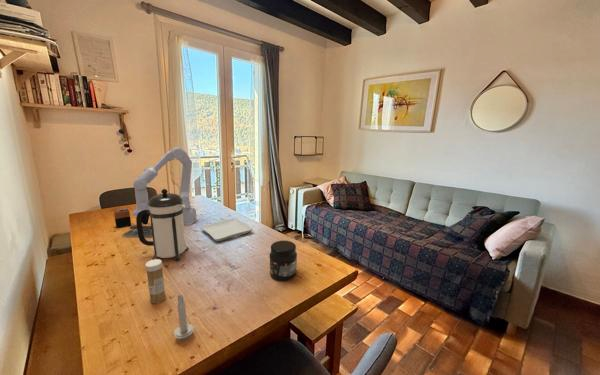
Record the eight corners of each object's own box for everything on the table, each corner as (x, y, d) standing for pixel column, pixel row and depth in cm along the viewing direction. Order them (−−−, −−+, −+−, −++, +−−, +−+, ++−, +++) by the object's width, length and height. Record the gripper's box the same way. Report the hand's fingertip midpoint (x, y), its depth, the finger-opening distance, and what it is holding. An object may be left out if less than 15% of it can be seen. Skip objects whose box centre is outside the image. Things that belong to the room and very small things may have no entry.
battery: (131, 225, 141) (129, 209, 139) (116, 228, 137) (114, 211, 135) (130, 223, 144) (128, 207, 142) (115, 226, 140) (113, 209, 138)
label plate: (165, 228, 139) (165, 225, 139) (150, 237, 126) (150, 235, 126) (139, 227, 140) (139, 224, 139) (122, 236, 127) (121, 234, 127)
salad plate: (216, 245, 120) (215, 239, 120) (199, 231, 136) (199, 225, 135) (254, 234, 134) (254, 228, 133) (235, 222, 150) (235, 217, 149)
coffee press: (181, 243, 121) (175, 183, 114) (195, 255, 110) (189, 189, 103) (140, 255, 109) (131, 188, 102) (151, 270, 98) (141, 196, 91)
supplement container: (271, 266, 103) (271, 239, 100) (297, 267, 102) (297, 240, 100) (267, 281, 92) (267, 251, 90) (296, 282, 92) (296, 252, 89)
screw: (197, 336, 67) (179, 347, 64) (189, 327, 71) (171, 337, 67) (193, 294, 64) (174, 303, 61) (185, 286, 68) (166, 295, 64)
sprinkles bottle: (147, 299, 81) (142, 262, 78) (162, 293, 85) (158, 257, 82) (153, 306, 78) (148, 267, 75) (168, 299, 82) (164, 262, 79)
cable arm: (159, 229, 134) (158, 223, 133) (155, 232, 131) (154, 225, 130) (135, 228, 135) (134, 222, 134) (130, 231, 131) (129, 224, 130)
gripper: (144, 196, 142) (146, 219, 145) (125, 204, 128) (128, 228, 131) (156, 197, 142) (158, 219, 145) (138, 204, 127) (141, 229, 131)
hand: (145, 224), depth 138 cm, fingers closed
